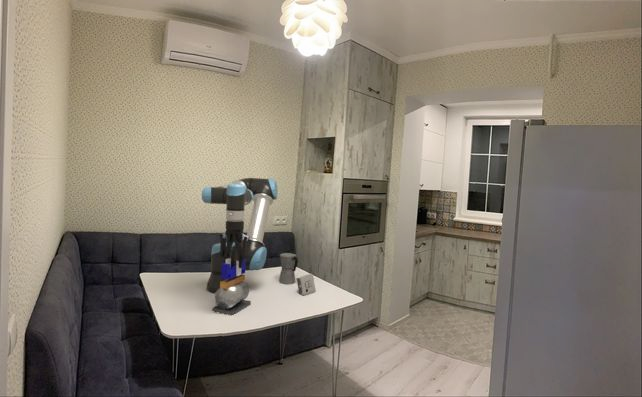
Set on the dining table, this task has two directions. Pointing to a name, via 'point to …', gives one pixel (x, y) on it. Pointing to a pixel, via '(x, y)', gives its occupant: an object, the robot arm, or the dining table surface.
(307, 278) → the electrical switch
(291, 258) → the coffeepot
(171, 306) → the dining table surface
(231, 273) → the blue notched block
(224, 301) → the silver rounded piece
